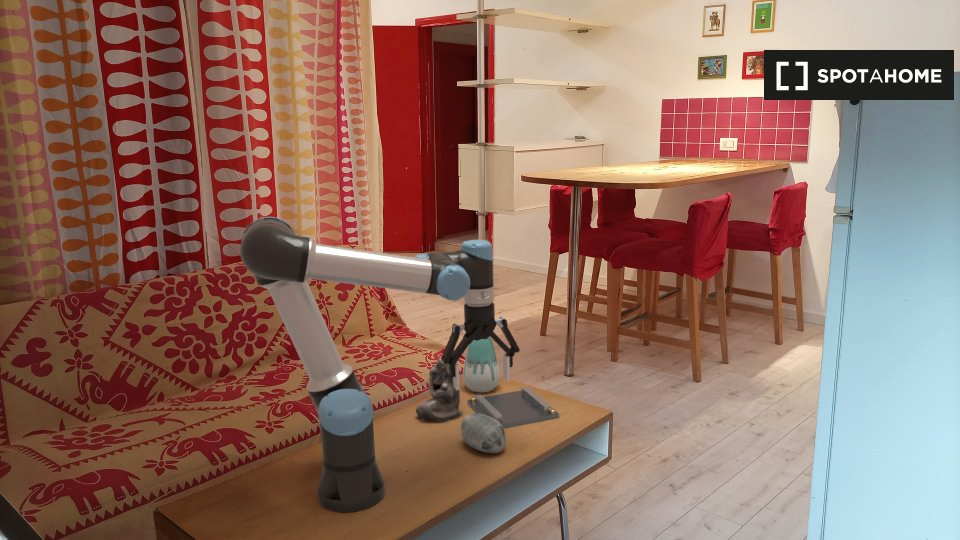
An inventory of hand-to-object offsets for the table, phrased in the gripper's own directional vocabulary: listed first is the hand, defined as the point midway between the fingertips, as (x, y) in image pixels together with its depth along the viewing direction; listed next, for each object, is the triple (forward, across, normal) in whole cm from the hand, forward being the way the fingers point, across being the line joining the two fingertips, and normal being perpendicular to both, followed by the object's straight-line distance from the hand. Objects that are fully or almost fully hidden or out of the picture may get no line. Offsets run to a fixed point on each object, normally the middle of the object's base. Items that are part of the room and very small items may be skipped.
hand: (481, 383), depth 183 cm
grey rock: (+18, 0, 0) cm, 18 cm away
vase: (+18, +14, +37) cm, 43 cm away
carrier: (+17, +16, +18) cm, 29 cm away
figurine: (+17, -4, +23) cm, 29 cm away
